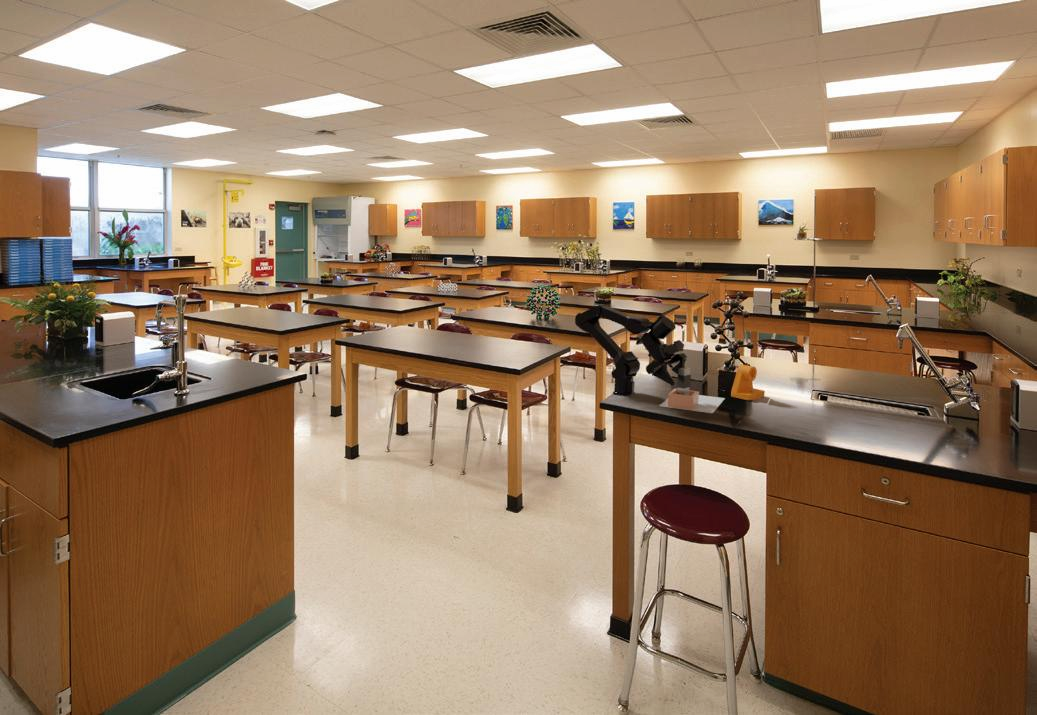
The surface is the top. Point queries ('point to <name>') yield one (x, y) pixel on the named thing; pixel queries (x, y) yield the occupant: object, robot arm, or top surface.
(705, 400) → the bench mat
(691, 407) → the holder
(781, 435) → the top surface
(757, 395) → the bracket
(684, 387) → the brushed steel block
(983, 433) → the top surface
